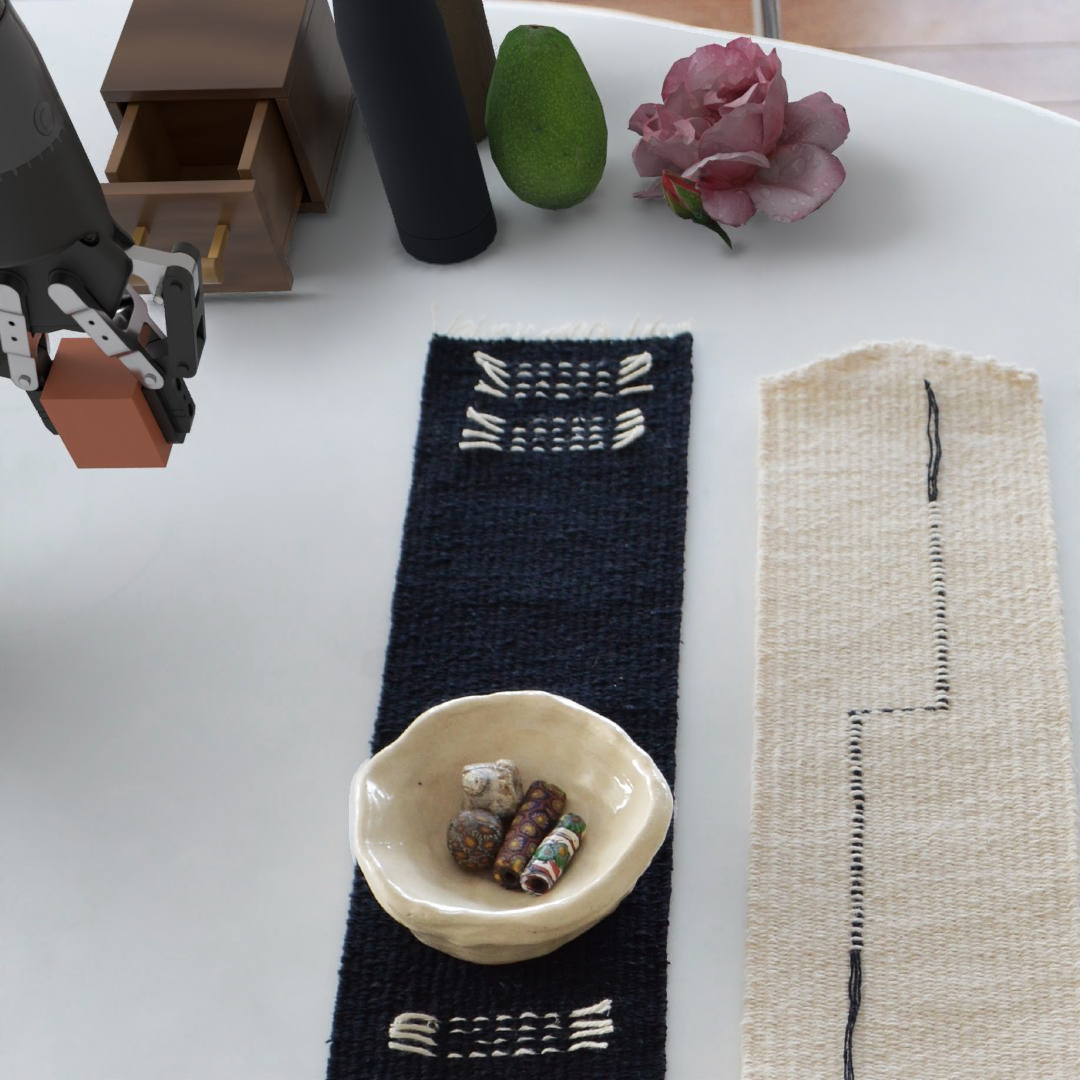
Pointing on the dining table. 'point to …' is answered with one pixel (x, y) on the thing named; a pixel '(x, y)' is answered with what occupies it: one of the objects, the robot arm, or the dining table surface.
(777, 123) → the flower
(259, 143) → the drawer
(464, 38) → the pillar candle
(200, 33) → the cabinet
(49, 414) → the block
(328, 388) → the dining table surface
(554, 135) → the fruit
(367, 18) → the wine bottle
